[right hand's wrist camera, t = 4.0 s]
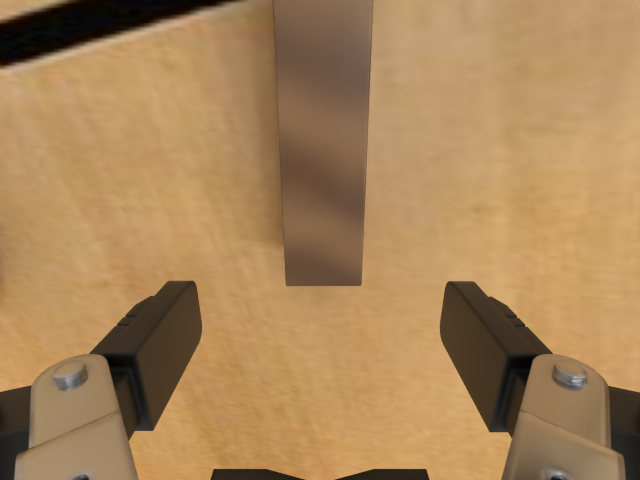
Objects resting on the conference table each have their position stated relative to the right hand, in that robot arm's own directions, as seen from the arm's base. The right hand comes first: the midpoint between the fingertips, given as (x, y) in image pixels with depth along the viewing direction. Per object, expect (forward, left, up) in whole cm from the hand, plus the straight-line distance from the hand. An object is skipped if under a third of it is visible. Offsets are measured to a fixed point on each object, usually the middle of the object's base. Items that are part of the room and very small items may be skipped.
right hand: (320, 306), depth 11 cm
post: (+30, -22, -15) cm, 40 cm away
